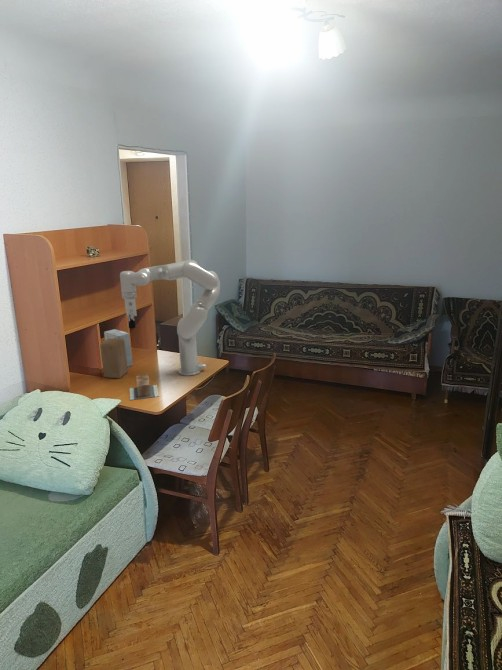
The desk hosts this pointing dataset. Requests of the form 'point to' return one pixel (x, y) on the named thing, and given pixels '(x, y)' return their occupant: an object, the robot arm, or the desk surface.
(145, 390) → the walnut block
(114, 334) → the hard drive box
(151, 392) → the mat
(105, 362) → the wooden block
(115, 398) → the desk surface
